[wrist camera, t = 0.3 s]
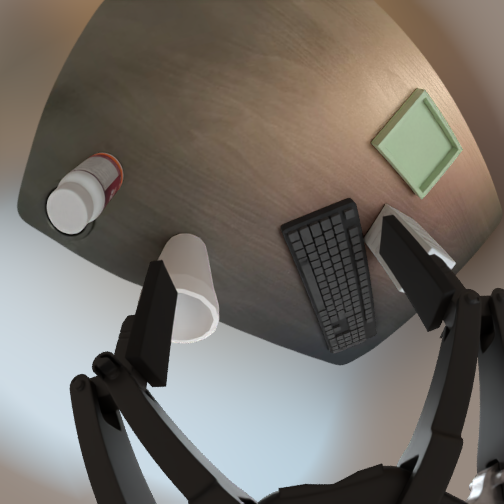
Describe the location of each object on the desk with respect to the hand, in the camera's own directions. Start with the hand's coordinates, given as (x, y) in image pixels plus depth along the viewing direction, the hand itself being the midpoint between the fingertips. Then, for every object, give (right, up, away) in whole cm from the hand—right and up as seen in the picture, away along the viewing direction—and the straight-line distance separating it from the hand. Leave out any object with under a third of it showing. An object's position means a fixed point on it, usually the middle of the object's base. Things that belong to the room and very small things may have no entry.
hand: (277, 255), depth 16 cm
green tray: (+23, +16, +18) cm, 33 cm away
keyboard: (+14, -7, +33) cm, 37 cm away
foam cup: (-11, 0, +25) cm, 27 cm away
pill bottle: (-21, +11, +16) cm, 29 cm away
